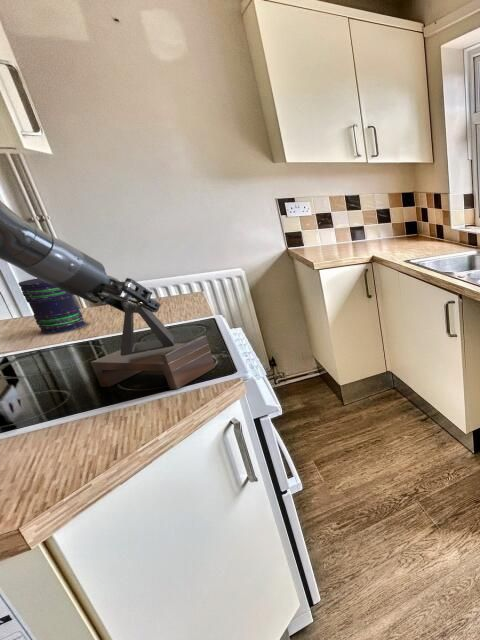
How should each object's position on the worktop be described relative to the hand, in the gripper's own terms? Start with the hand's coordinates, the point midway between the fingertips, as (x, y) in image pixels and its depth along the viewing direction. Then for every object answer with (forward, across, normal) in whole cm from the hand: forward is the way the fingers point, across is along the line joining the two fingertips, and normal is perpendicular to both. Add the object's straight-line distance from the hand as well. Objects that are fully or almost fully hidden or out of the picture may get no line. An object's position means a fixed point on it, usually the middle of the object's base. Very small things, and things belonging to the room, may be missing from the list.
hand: (142, 308), depth 91 cm
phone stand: (+5, 0, +7) cm, 9 cm away
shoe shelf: (+10, 0, +12) cm, 16 cm away
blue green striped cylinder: (+31, +60, -9) cm, 68 cm away
